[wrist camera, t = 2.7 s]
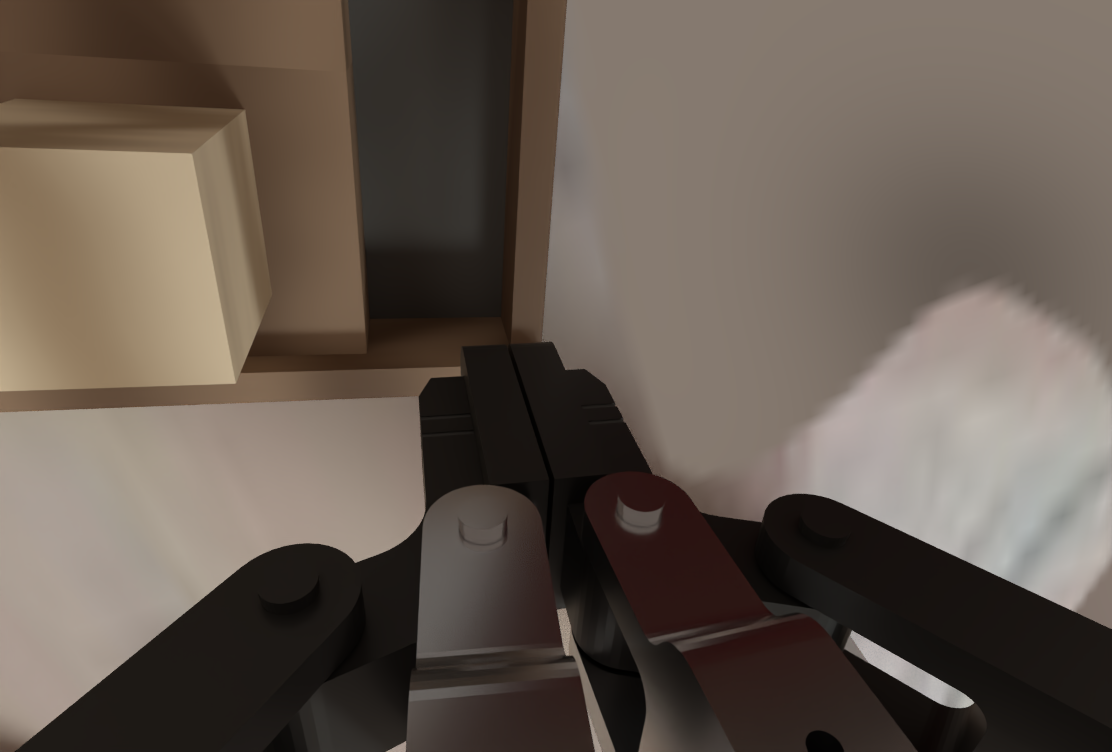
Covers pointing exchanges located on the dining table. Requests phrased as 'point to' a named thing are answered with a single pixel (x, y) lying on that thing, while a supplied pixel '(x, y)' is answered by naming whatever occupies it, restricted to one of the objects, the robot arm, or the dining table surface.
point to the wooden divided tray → (340, 170)
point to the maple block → (127, 245)
